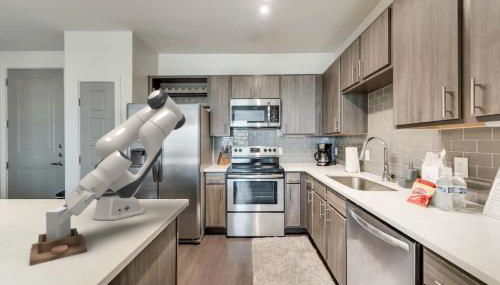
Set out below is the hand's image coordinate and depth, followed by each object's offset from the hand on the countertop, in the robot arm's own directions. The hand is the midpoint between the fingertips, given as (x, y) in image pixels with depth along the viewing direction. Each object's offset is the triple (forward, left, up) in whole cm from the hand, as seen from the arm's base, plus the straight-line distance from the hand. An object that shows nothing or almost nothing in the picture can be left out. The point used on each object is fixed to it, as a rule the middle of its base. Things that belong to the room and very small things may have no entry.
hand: (58, 218), depth 83 cm
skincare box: (0, 0, -9) cm, 9 cm away
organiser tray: (0, +2, -10) cm, 10 cm away
